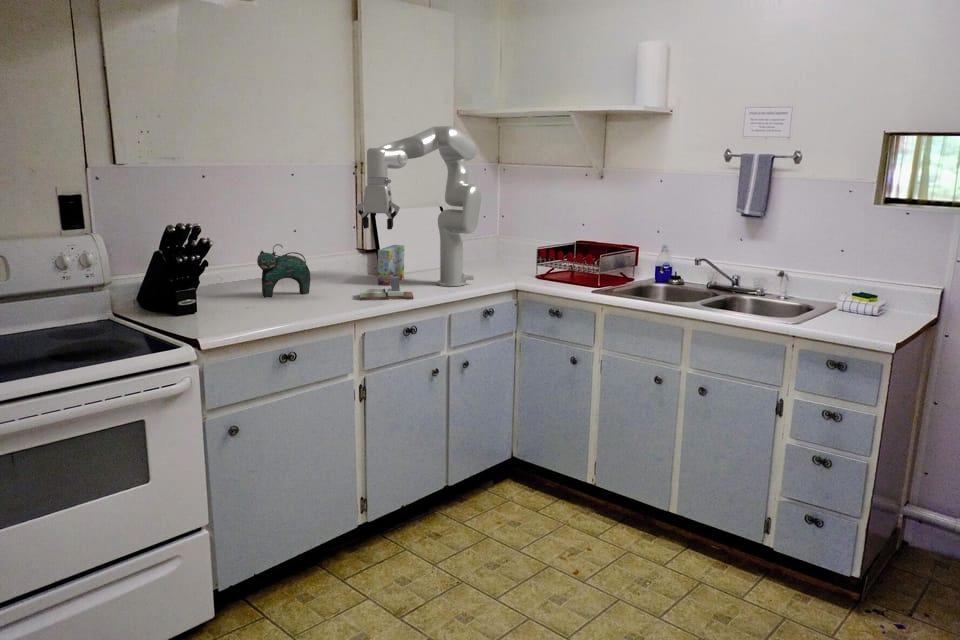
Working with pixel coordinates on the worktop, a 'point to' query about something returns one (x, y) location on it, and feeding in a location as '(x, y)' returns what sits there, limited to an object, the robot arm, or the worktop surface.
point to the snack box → (390, 263)
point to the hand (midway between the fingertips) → (377, 228)
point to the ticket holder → (381, 295)
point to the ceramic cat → (283, 271)
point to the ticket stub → (395, 287)
